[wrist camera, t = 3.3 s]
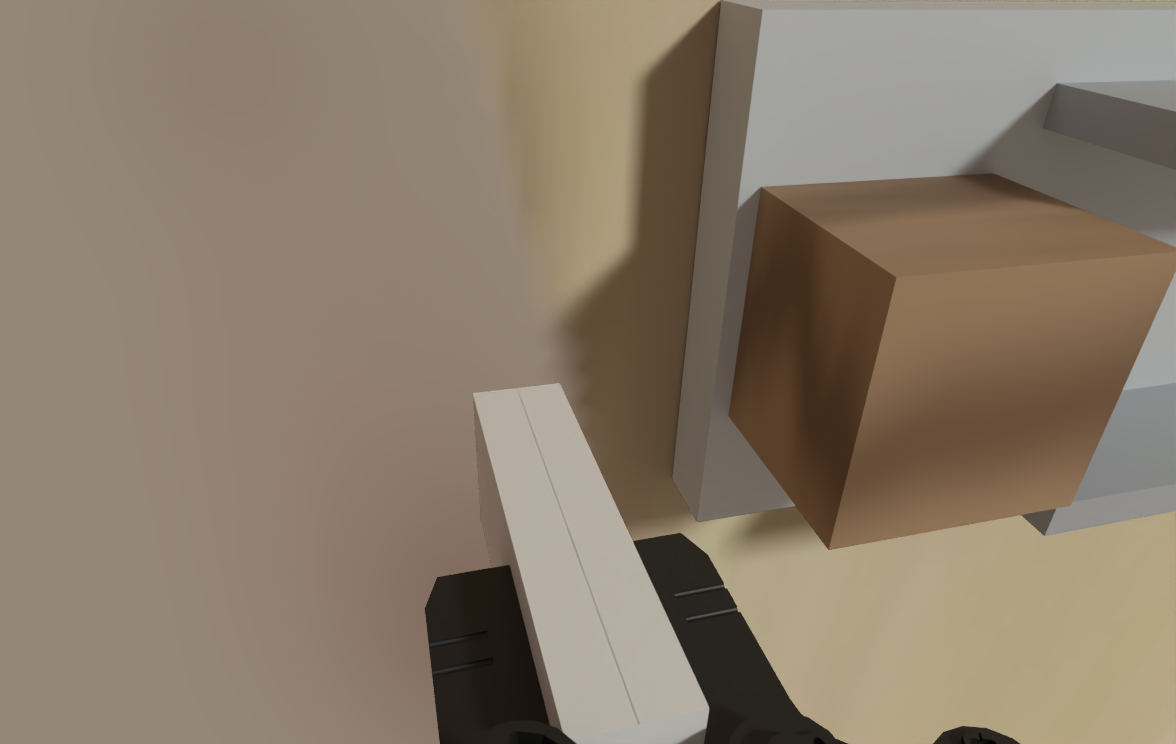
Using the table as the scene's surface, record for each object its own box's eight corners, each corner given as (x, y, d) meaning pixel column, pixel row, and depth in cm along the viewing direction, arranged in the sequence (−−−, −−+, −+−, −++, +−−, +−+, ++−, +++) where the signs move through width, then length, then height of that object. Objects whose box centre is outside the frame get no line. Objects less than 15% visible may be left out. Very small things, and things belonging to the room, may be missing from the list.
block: (760, 186, 17) (896, 277, 12) (993, 173, 18) (1184, 250, 14) (728, 415, 20) (828, 550, 16) (929, 389, 21) (1070, 505, 17)
